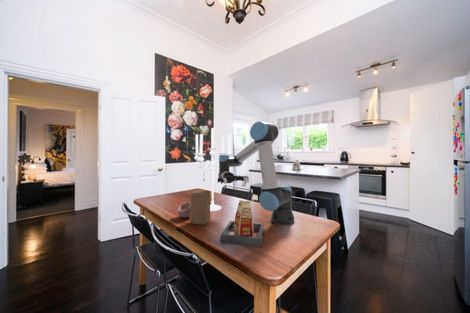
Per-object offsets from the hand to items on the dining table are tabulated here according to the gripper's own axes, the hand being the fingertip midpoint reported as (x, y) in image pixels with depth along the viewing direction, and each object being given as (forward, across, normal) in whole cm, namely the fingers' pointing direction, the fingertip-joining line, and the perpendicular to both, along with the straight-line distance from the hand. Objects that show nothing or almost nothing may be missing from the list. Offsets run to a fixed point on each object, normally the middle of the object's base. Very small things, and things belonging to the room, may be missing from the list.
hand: (237, 180), depth 113 cm
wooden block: (-19, +20, -28) cm, 39 cm away
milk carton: (+10, 0, -29) cm, 30 cm away
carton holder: (+10, 0, -29) cm, 30 cm away
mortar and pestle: (-32, +29, -28) cm, 51 cm away
